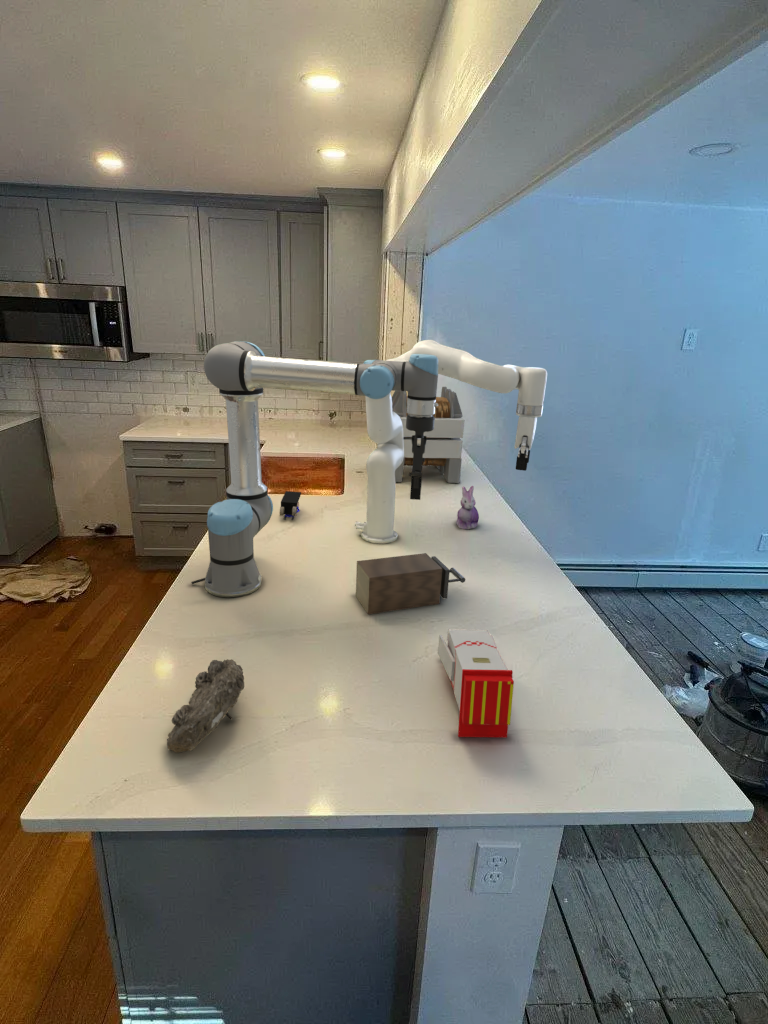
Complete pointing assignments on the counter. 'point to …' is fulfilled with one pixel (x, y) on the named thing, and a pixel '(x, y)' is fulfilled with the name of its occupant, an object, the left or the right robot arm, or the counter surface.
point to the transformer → (435, 436)
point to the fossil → (206, 705)
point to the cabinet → (398, 583)
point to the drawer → (447, 577)
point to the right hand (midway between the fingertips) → (522, 466)
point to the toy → (478, 682)
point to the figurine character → (290, 504)
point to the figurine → (467, 510)
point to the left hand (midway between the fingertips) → (415, 491)
